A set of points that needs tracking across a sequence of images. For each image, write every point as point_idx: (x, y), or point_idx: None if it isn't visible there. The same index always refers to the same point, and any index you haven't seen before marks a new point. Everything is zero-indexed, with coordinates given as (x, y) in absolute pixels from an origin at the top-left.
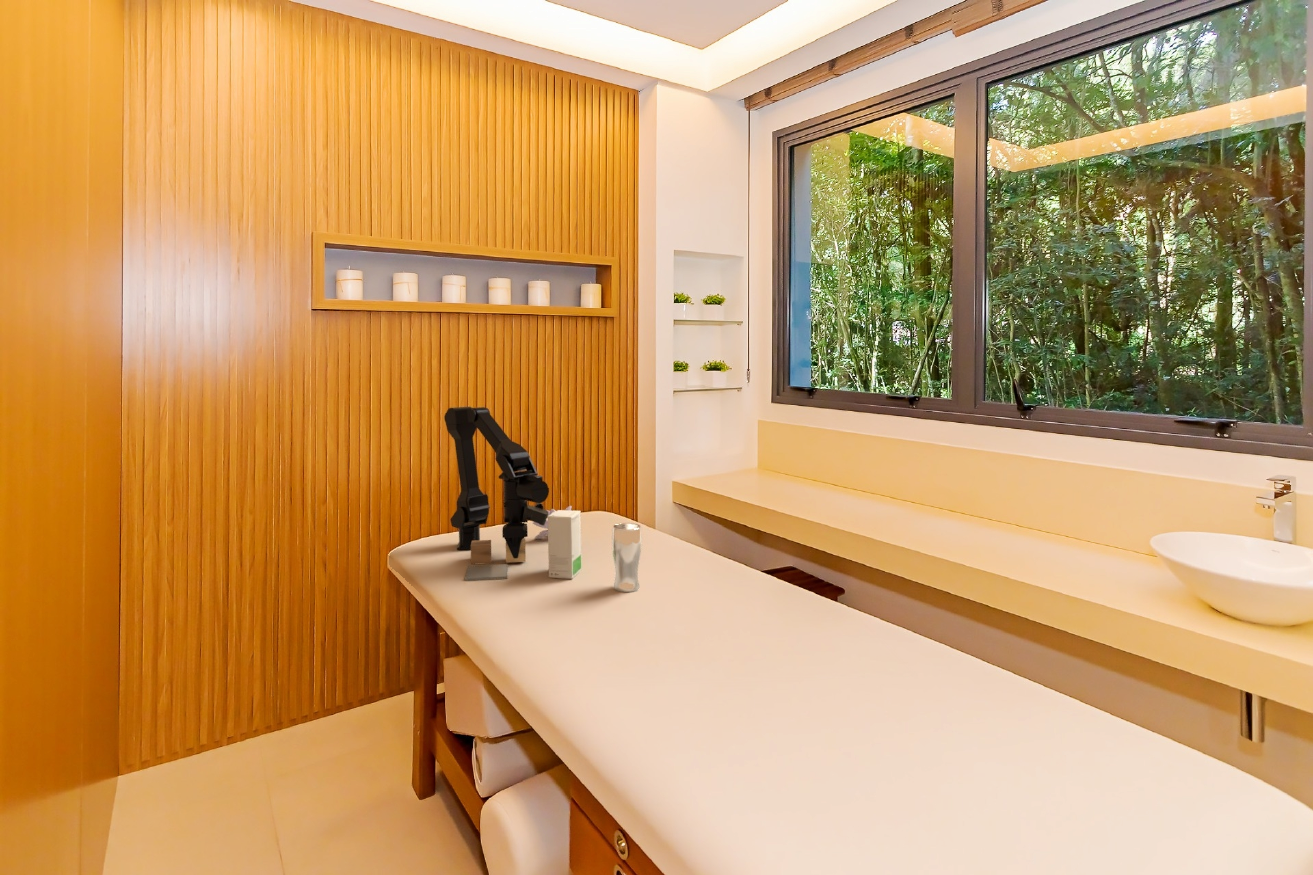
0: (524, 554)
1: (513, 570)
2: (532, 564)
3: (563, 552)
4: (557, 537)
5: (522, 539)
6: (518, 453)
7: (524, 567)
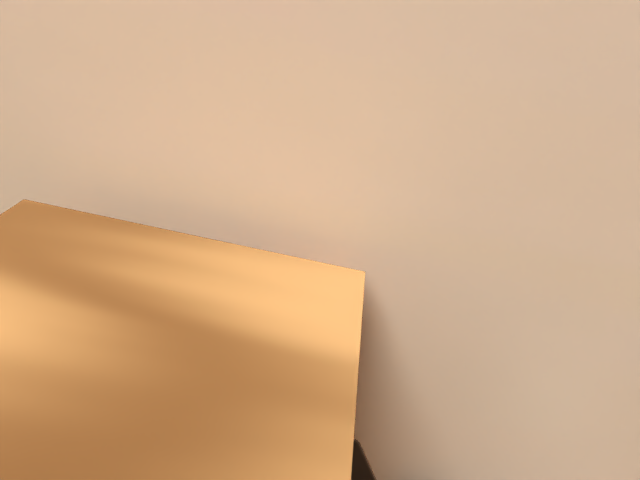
0: (356, 368)
1: (615, 467)
2: (443, 151)
3: None
4: None
5: None
6: None
7: (552, 308)
